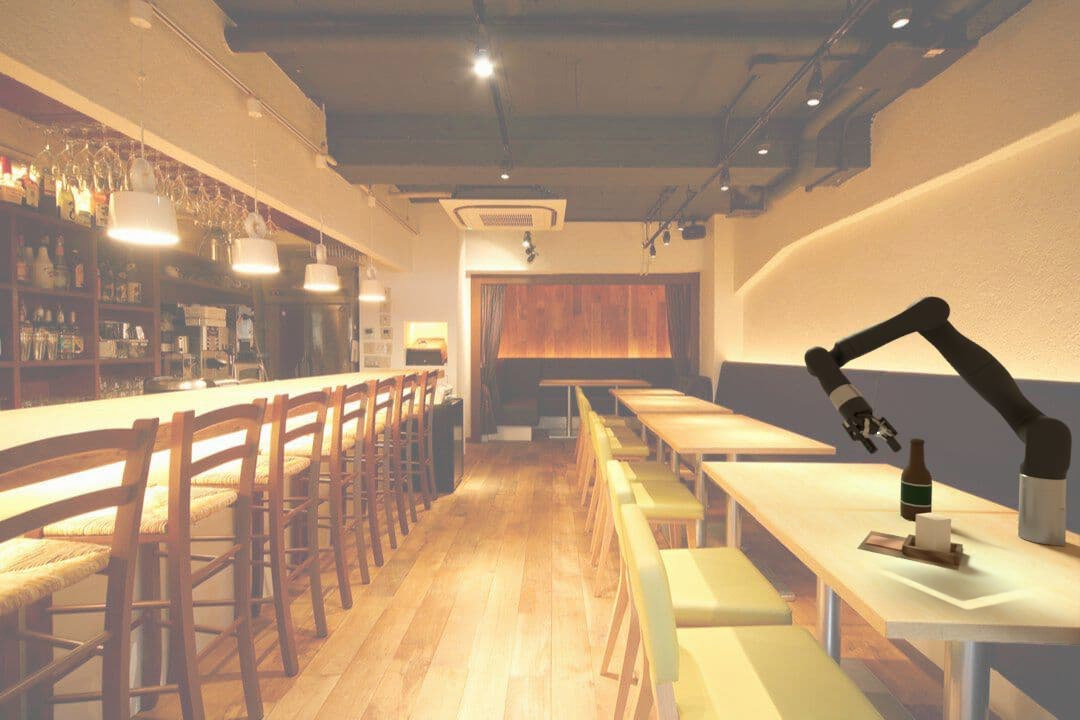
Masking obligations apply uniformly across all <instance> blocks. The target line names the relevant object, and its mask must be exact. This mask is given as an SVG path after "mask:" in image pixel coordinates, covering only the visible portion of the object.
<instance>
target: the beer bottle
mask: <svg viewBox="0 0 1080 720" xmlns="http://www.w3.org/2000/svg"><path fill="white" fill-rule="evenodd" d="M909 443H910V447H909V448H910V449H909V456H908V457H909V458H908V463H907V465H906V467H905V468H904V469H903V471H902V473H901V477H900V499H899V501H900V502H899V503H900V506H899V508H900V516H901V517H902V518H903V519H906V520H908V519H909V521H913V522H916V514H923V513H933V512H932V507H933V506H932V505H933V504H932V502H933V501H932V500H933V480H932V478H933V477H932V475H931V473H930V471H929V469H928V468H927V467H926V462H925V448H924V447H925V445H924V444H926V442H925V440H924V439H922V438H910V439H909Z"/></svg>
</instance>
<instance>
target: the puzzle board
mask: <svg viewBox="0 0 1080 720" xmlns="http://www.w3.org/2000/svg"><path fill="white" fill-rule="evenodd" d="M963 546H964V545H963V544H961V543H957V542H951V544H950V554H948V553H943V552H938V551H933V550H928V549H923V548H918V547H915V535H914V534H911V533H909V534H908V535H907V537H905V536H899V535H894V534H890V533H885V532H878V531H874V530H871V531H869V533H868V534H867V536H866V537H865V538H864V539H863V540H862V541H861V543H860V544H859V545H858V546H857V548H856V549H858V550H861V551H866V552H870V553H871V552H872V553H876V554H881V555H885V556H889V557H893V558H899V559H904V560H907V561H911V562H918V563H921V564H927V565H933V566H935V567H941V568H945V569H950V570H953V571H959V568H960V563H961V560H962V556H963V552H964V548H963Z"/></svg>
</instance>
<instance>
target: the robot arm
mask: <svg viewBox="0 0 1080 720" xmlns="http://www.w3.org/2000/svg"><path fill="white" fill-rule="evenodd" d="M950 315H951V307H950V304H949V303H948V302H947V301H946V300H945V299H944V298H942V297H939V296H924V297H921V298H919V299H916V300H915V301H913V302H912V303H910V304H909V305H908V306H907V307H906V309H904V310H903V311H901V312H899V313H897V314H896V315H894V316H891V317H890V318H888V319H886V320H885V319H884V320H883V321H880V322H878V323H876V324H873V325H870V326H868V327H866V328H863V329H860V330H858V331H856V332H853V333H852V334H851V333H850V334H849V335H847V336H844V337H842V338H840V339H838V340H836V341H835V343H834V345H833V348H831V349H830V350H829V351H828V350H827V348H824V347H822V346H816V345H815V346H812V347H810V348H808V349H807V350H806V351H805V354H804V358H803V359H804V363H805V366H806V369H807V371H808V373H809V374H810V376H813V377H815V378H817V379H818V381H819V384H820V386H821V388H822V390H823V391H824V392H825V394H826V395H827V396H828V398H829V399H830V401H831V403H832V405H833V406H834V407H835V409H836V410H837V412H838V413H839V414H840V416H841V417H842V419H843V420H844V422H842V427H843V428H844V430H845V431H846V432H847V434H848V435H849V438H850V439H851V440H852V441H853V442H859V443H861V444H862V445H863V446H864V448H865V449H866V451H867V452H868V453H869V454H871V455H875V453H877V452H878V447H877V446H876V444H875V443H874V442H873V440H872V439H871V438H870V437H869V435H873V436H875V437H876V438H881V439H883V440H884V441H885V442H886V444H887V445H888V446H889V448H890V449H891V450H892V451H893V453H899V452H900V451H901V450H902V446H901V444H900V443H899V442H898V440H897V439H896V436H897V435H898V434H899V433H898V431H897V430H896V429H895V428H894V426H893V425H892V424H891V423H890V422H889V421H888V420H887V419H886V418H885V417H884V416H882V417H880V418H876V417H875V416H874V414H873V412H874V409H873V407H872V406H871V404H869V402H868V401H867V400H866V398H865V397H864V396H863V395H862V394H861V392H860V391H859V390H858V389H857V388H856V387H855V386H854V385H853V384H852V383H851V381H850V380H849V379H848V378H847V376H846V375H845V374H844V373H843V371H842V370H841V368H842V367H844V366H845V365H846V364H848V363H849V362H851V361H853V360H855V359H857V358H860V357H863V356H864V355H865V356H866V355H867V354H869V353H872V352H873V351H876V350H877V349H879V348H882V347H883V346H885V345H887V344H889V343H892V342H894V341H896V340H898V339H901V338H903V337H905V336H908V335H910V334H914V333H918V334H919V335H920V336H922V337H923V338H924V339H925V340H926V341H927V342H928V343H930V344H931V345H932V346H933V347H934V348H935V349H936V350H937V351H938V352H939V354H940V355H941V356H942V357H943V358H944V360H945V361H946V362H947V363H948V364H949V365H950V366H951V367H952V369H954V371H955V372H956V373H957V374H958V375H959V376H960V377H961V378H962V379H963V380H964V382H965V383H967V385H968V386H969V387H970V388H971V389H973V390H974V392H976V393H977V395H979V396H980V397H981V398H982V399H983V400H984V401H985V402H986V403H988V404H989V405H990V406H991V407H992V408H993V409H995V411H996V412H998V414H999V415H1000V416H1001V417H1002V418H1003V420H1005V422H1006V423H1007V424H1008V425H1009V427H1010V428H1011V430H1012V431H1013V432H1014V433H1015V435H1016V436H1017V438H1018V439H1019V440H1020V441H1021V442H1022V443H1023V444H1024V445H1025V447H1024V449H1025V450H1024V459H1023V461H1022V462H1021V463H1020V465H1019V486H1018V487H1019V488H1018V490H1019V491H1018V493H1019V496H1018V527H1017V536H1018V537H1019V538H1021V539H1024V540H1026V541H1029V542H1033V543H1037V544H1041V545H1048V546H1049V544H1050V546H1061V545H1062V547H1066V532H1067V508H1066V504H1067V503H1066V502H1067V501H1066V500H1067V473H1068V471H1069V470H1070V467H1071V460H1072V447H1073V446H1072V445H1073V442H1072V441H1073V440H1072V432H1071V430H1070V428H1069V426H1067V424H1066V423H1064V422H1063V421H1061V420H1060V419H1057V418H1054V417H1049V416H1048V415H1046V414H1045V413H1044V412H1042V411H1041V410H1040V409H1038V407H1036V405H1034V404H1033V403H1031V402H1030V400H1028V398H1027V397H1025V395H1024V394H1023V393H1022V390H1021V389H1020V388H1019V386H1018V384H1017V383H1016V380H1015V379H1014V377H1013V376H1012V374H1011V373H1010V372H1009V371H1008V369H1007V368H1006V367H1005V366H1004V365H1003V364H1002V363H1001V362H1000V361H999V360H998V359H997V358H996V357H995V356H994V355H993V354H992V353H991V352H989V351H988V350H987V349H986V348H984V347H983V346H981V345H980V344H978V343H977V342H975V341H973V340H972V339H970V338H968V337H967V336H965V335H964V334H962V333H961V332H960V331H959V330H958V329H957V328H955V327H954V325H953V324H952V323H951V322H950V321H949V318H950Z"/></svg>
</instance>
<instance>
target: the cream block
mask: <svg viewBox="0 0 1080 720" xmlns="http://www.w3.org/2000/svg"><path fill="white" fill-rule="evenodd" d="M914 534H915V547H918V548H923V549H928V550H933V551H938V552H943V553H948V554H950V544H951V540H952V538H951V537H952V518H950V517H947V516H945V515H944V516H943V515H940V514H938V513H937V514H936V513H933V512H931V513H923V514H916V521H915V532H914Z"/></svg>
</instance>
